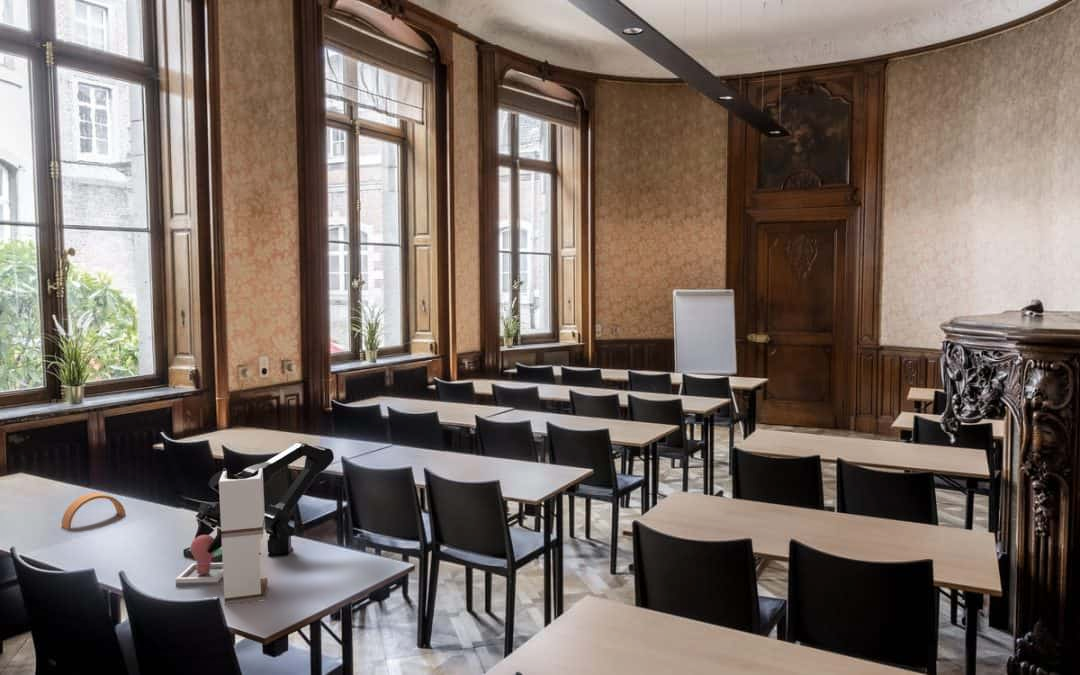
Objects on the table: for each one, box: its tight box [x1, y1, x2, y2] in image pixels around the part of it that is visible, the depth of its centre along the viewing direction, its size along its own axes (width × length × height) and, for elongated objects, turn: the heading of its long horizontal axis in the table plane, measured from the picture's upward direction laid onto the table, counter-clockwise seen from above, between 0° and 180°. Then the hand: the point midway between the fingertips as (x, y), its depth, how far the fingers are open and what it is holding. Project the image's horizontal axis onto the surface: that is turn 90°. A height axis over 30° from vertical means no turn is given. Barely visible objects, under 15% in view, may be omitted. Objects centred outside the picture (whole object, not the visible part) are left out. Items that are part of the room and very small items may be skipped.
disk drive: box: [182, 546, 223, 563], centre depth 251 cm, size 10×3×15 cm
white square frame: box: [175, 562, 224, 587], centre depth 233 cm, size 12×12×2 cm
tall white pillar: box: [218, 468, 269, 606], centre depth 219 cm, size 11×11×35 cm
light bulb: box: [190, 535, 215, 575], centre depth 232 cm, size 7×7×12 cm
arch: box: [61, 492, 126, 531], centre depth 286 cm, size 6×20×10 cm, turn 141°
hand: (201, 549), depth 231 cm, fingers open, 9 cm apart
